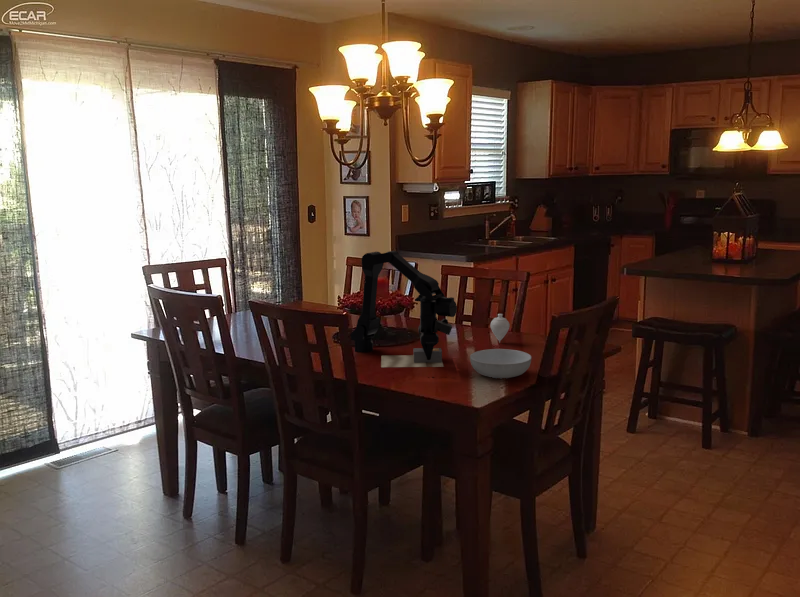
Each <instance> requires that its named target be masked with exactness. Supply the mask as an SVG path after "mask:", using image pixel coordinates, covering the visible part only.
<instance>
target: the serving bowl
mask: <svg viewBox="0 0 800 597" xmlns="http://www.w3.org/2000/svg"><path fill="white" fill-rule="evenodd" d="M532 358H533V357H532V355H531V354H529V353H527V352H526V351H525V352H524V351H522V350H519V349H518V350H516V349H507V348H491V349H483V350H482V349H481V350H477V351H474V352H473V353H471V354H470V355H469V360H470V364H471V366H472V369H473V370H474V371H475V372H477V374H480V375H482V376H483V377H484V376H485V377H489V378H491V377H492V378H493V379H497V378H500V379H501V380H502V378H506V379H510V378H514V377H518V376H521V375H523V374H524V373H526V372H527V370H528V369H529V368H530V366H531V363H532ZM492 378H491V379H492Z"/></svg>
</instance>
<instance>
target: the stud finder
mask: <svg viewBox="0 0 800 597" xmlns="http://www.w3.org/2000/svg"><path fill="white" fill-rule="evenodd" d="M413 355H414V363H425V362H442V363H443V350H442V348H441V347H433V351H432V355H431V359H430V360H427V357H426V355H425V352H424V350H423V347H422V348H420V347H417V348H414V347H413Z"/></svg>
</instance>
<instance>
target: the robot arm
mask: <svg viewBox="0 0 800 597" xmlns="http://www.w3.org/2000/svg"><path fill="white" fill-rule="evenodd" d="M387 263H389V264H390V265H391V266H392V267H394V269H396V270H397V271H398V272H400V273H401V274H402V275H403V276H404V277H405V278H406V279H407V280H409V281H410V283H412V286H413V288H414V290H415V291H416V292H417V293H418V296H417V297H416V298H415V299H414V301H415V302H420V303H419V307H420V308H419V309H420V310H419V312H420V313H419V319H420V320H419V321H420V323H419V325H418V335H419V338H420V344H421V346H422V348H423V350H424V352H425V355H426V357H427V360H430V359H431V355H432V351H433V348H435V346H436V345H437V344H439V339H440V338H439V334H437V333H438V332H440V333H443V334H445V335H448V336H450V334H451V331H452V328H453V325H452V324H451V323H449V321H448V320H449V319H446V318H442V319H441V320H439V319H438V317H439V316H441V317H448V318H450V317H451V318H454V317H456V315H457V311H458V305H457V303H456V301H455V297H447V296H446V297H445V294H444V292H443V291H442V289H441V288H440V286H439V281H438V280H437V279H435V278H434V277H432V276H430V275H427V274H424V273H423V272H421V271H419V269H417V268H416V267H415V266H414V265H413V264H411V263H410V262H409V261H407V259H405V258H404V257H403V256H401V255H400V254H399V252H398V251H396V250H391V251H390V250H389V251H387V252H386V251H385V252H383V253H381V252H380V251H372V252H368V253H367V252H366V253H364V254H363V256H362V257H361V270H362V271H363V274H364V284H363V285H364V286H363V294H362V295H363V297H362V299H363V300H362V306H361V307H362V308H361V313H360V315H359V317H358V319H357V322H356V326H355V329H354V330H353V331H352V332H351V333H350V339H351V340H352V341H354V352H355V353H356V352H357V353H370V352H374V342H373V340H372V338H375V335H376V334H377V332H378V330H379V329H380V321H381V318H380V317H377V315H376V304H377V303H376V302H377V293H378V282H379V281H378V280H379V276H380V273H381V272H382V270H383V267H384V264H387Z"/></svg>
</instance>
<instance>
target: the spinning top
mask: <svg viewBox="0 0 800 597" xmlns="http://www.w3.org/2000/svg"><path fill="white" fill-rule="evenodd" d="M503 315H504V314H503V313H498V314H497V317H494V318H493V319H492V320H491V322H490V330H491V331H492V333H493V335H494V336H495V338H496V339H497V340H498V342H499V344H500V343H501V341H502V340H503V338H504V337H505V336H506V334H507V333H508V331H509V329H510V326H511V324H510V322H509V321H508V319H507V318H505V317H503Z"/></svg>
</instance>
